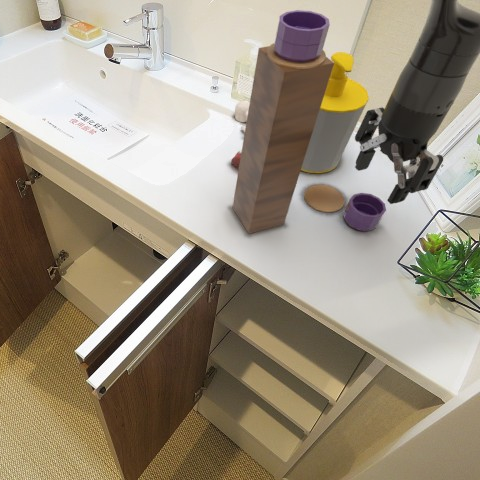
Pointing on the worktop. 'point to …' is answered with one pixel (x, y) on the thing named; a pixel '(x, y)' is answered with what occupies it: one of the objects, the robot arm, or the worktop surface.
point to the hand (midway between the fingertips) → (376, 184)
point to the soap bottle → (335, 117)
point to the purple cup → (364, 211)
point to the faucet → (242, 111)
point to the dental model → (236, 159)
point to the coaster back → (324, 198)
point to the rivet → (243, 128)
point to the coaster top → (295, 65)
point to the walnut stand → (276, 139)
